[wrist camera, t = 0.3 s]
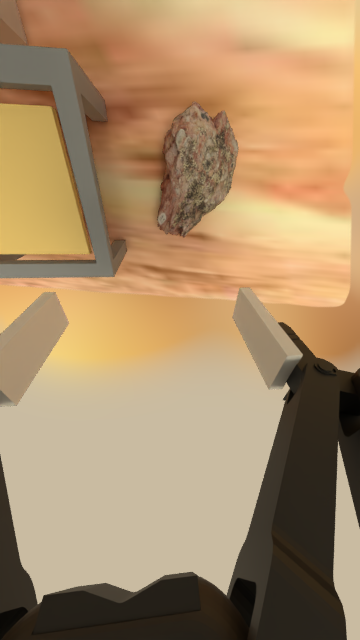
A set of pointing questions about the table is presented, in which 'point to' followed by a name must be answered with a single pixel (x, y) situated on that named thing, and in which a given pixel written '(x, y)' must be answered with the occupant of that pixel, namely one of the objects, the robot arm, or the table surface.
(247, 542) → the robot arm
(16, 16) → the grey cube
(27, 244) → the hatch
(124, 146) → the table surface
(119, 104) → the table surface
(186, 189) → the rock
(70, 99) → the frame
